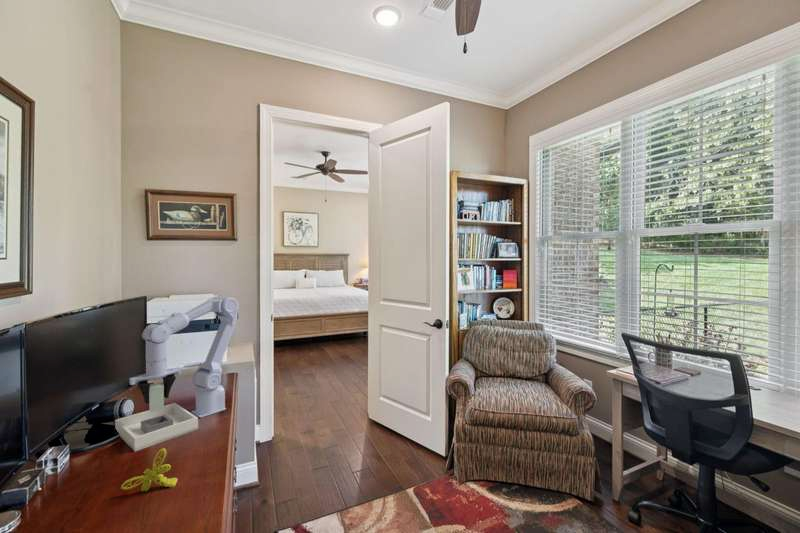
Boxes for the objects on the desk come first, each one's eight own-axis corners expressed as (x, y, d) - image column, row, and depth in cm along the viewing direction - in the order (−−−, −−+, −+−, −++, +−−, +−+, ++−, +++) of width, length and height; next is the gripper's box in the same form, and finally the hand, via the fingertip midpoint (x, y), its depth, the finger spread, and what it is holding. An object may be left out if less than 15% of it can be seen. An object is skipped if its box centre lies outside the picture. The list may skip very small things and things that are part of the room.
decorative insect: (148, 511, 89) (118, 488, 86) (153, 503, 91) (123, 481, 89) (190, 472, 91) (161, 449, 89) (193, 465, 94) (165, 443, 92)
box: (175, 413, 133) (174, 402, 133) (198, 429, 121) (198, 417, 121) (115, 431, 119) (115, 419, 119) (134, 451, 107) (134, 438, 107)
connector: (163, 405, 123) (163, 382, 123) (164, 409, 119) (163, 385, 119) (149, 407, 121) (149, 384, 120) (149, 412, 117) (149, 388, 117)
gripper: (175, 353, 128) (175, 390, 128) (126, 362, 116) (126, 403, 117) (183, 357, 123) (183, 395, 124) (133, 366, 112) (133, 409, 112)
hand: (156, 400), depth 120 cm, fingers closed on connector, 5 cm apart
